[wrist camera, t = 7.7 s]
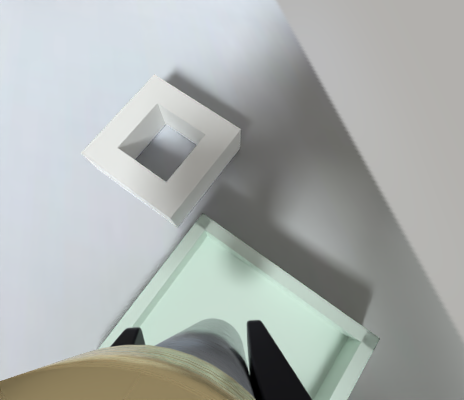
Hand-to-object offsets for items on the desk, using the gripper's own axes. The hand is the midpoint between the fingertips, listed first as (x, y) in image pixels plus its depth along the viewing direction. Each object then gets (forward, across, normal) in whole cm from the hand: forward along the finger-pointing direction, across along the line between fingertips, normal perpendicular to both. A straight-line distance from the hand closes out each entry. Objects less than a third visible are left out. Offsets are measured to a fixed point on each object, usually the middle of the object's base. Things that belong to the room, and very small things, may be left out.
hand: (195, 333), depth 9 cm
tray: (+8, 0, +11) cm, 14 cm away
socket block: (+18, +3, +1) cm, 18 cm away
